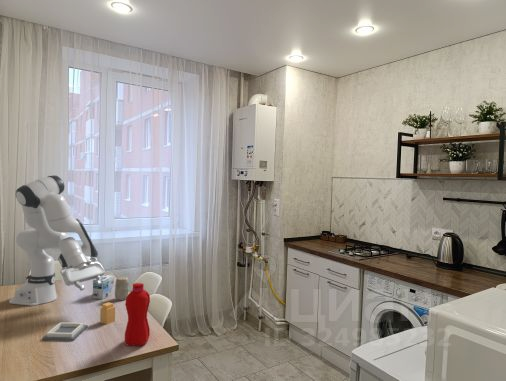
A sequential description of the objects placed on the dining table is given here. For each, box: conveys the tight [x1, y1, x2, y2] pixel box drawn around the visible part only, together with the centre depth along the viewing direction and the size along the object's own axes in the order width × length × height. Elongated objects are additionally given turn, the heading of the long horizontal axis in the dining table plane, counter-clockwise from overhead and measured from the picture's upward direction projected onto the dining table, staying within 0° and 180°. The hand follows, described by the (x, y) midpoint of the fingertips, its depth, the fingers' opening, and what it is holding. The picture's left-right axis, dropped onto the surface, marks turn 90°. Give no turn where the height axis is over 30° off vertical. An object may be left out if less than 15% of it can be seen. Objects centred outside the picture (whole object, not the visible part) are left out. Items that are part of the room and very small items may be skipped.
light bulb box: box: [92, 274, 115, 300], centre depth 197 cm, size 11×7×11 cm, turn 168°
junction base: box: [41, 321, 88, 342], centre depth 151 cm, size 13×13×2 cm
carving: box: [114, 276, 130, 301], centre depth 194 cm, size 6×8×12 cm
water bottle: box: [124, 282, 151, 347], centre depth 146 cm, size 9×11×25 cm
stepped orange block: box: [99, 301, 116, 325], centre depth 164 cm, size 5×5×9 cm
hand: (91, 287), depth 169 cm, fingers open, 8 cm apart
